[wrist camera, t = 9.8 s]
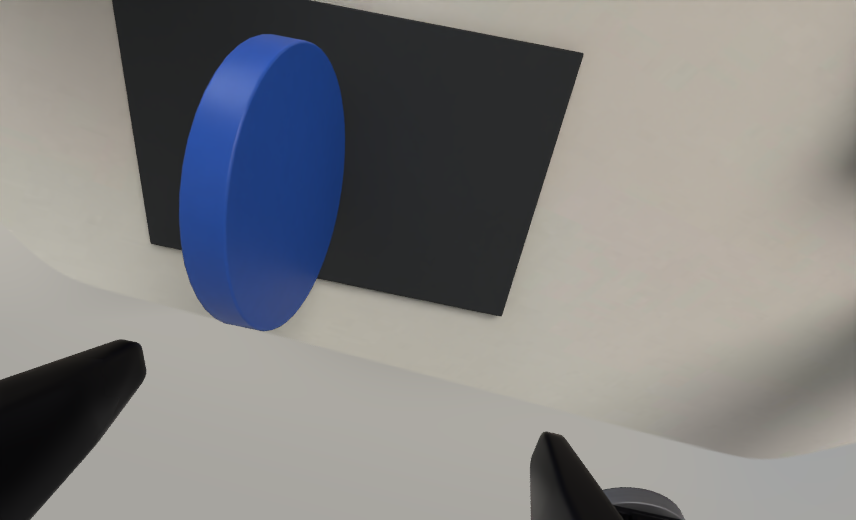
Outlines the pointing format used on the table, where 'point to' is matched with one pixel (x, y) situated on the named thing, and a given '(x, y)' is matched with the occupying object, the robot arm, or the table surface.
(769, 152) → the table surface
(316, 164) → the plate
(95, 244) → the table surface
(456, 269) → the mat
